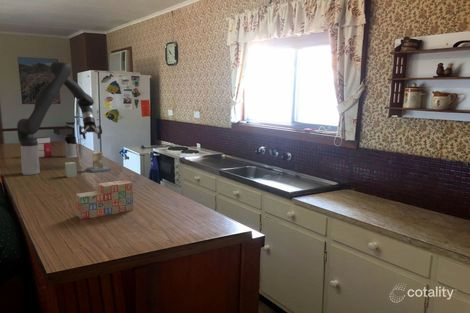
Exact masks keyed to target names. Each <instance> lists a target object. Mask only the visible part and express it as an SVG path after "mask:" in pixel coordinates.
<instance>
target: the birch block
mask: <svg viewBox="0 0 470 313" xmlns="http://www.w3.org/2000/svg"><path fill="white" fill-rule="evenodd" d="M103 153H104V152H102V151H92V152H91V154H92V167H93V168H95V169H99V168H103V165H104V156H103Z"/></svg>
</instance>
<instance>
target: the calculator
mask: <svg viewBox="0 0 470 313" xmlns="http://www.w3.org/2000/svg"><path fill="white" fill-rule="evenodd" d="M34 138H35V139H36V140H37V141H38V154H39V159H40V158H49V157H52V143H51V137H50V136H41V137H40V136H39V137H34Z"/></svg>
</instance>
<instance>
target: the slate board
mask: <svg viewBox="0 0 470 313" xmlns="http://www.w3.org/2000/svg"><path fill="white" fill-rule="evenodd" d="M85 169H86V171H88V172H91V173H92V174H96V173H101V172H102V173H103V172H111V170H112V169H111V167H108V166H106V165H104V164H103V168H99V169H95V168H93V166H86V167H85Z"/></svg>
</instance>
